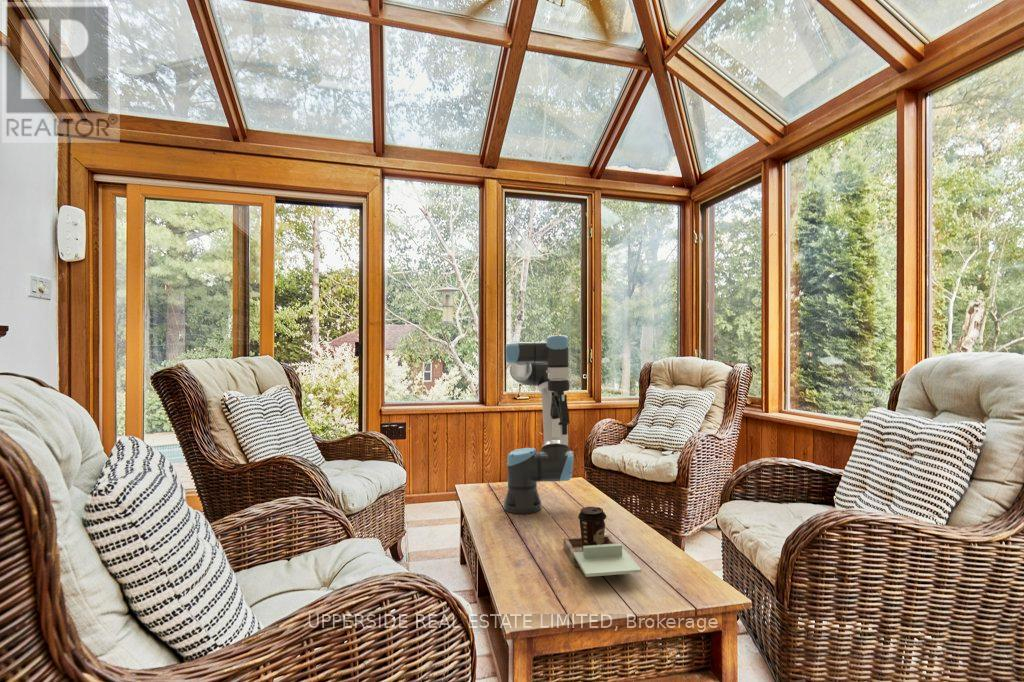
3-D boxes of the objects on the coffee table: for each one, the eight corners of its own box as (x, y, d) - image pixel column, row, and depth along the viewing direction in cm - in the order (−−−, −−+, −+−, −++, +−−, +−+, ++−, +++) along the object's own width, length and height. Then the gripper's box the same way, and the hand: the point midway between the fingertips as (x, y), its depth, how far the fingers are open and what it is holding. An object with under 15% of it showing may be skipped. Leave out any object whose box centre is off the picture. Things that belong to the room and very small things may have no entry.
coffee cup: (609, 548, 156) (608, 506, 156) (605, 559, 148) (604, 515, 148) (581, 545, 159) (580, 504, 159) (576, 556, 151) (575, 513, 151)
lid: (573, 555, 146) (573, 542, 146) (623, 551, 148) (623, 538, 148) (586, 576, 132) (585, 562, 132) (641, 572, 134) (641, 558, 134)
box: (563, 548, 160) (563, 538, 160) (609, 544, 161) (609, 534, 161) (574, 567, 146) (573, 556, 146) (624, 563, 147) (624, 552, 148)
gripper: (541, 377, 186) (543, 434, 186) (555, 382, 162) (556, 447, 161) (561, 377, 187) (562, 433, 187) (577, 381, 163) (579, 446, 162)
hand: (560, 440), depth 174 cm, fingers open, 13 cm apart
